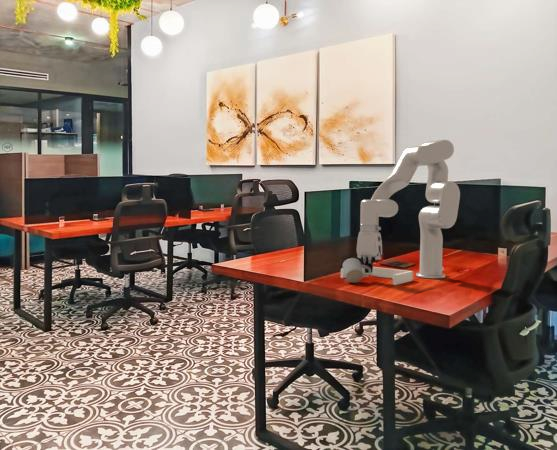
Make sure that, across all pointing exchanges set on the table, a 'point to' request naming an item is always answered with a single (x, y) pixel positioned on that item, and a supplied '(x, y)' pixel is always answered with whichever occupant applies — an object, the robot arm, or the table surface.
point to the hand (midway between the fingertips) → (368, 272)
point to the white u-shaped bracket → (389, 274)
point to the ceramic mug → (354, 270)
